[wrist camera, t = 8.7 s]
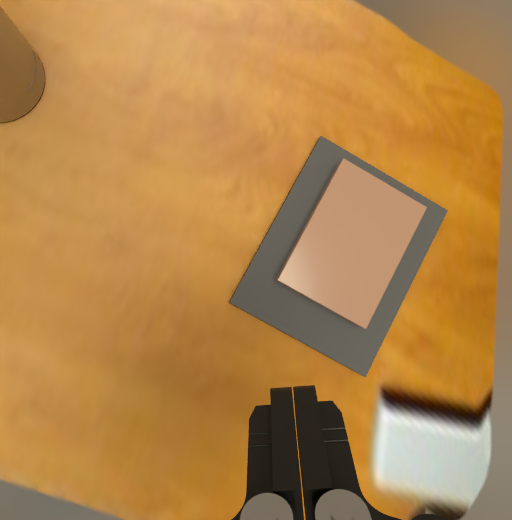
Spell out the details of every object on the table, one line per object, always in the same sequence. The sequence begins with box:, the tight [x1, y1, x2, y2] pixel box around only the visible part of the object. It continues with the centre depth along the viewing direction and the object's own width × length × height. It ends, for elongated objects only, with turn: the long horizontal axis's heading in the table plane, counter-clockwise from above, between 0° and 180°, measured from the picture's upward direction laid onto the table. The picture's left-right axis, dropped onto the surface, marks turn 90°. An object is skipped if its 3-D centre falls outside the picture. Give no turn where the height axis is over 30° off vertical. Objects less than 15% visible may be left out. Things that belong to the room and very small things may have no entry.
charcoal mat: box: [229, 136, 448, 377], centre depth 40 cm, size 20×16×1 cm
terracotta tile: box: [275, 158, 427, 329], centre depth 39 cm, size 2×10×14 cm
